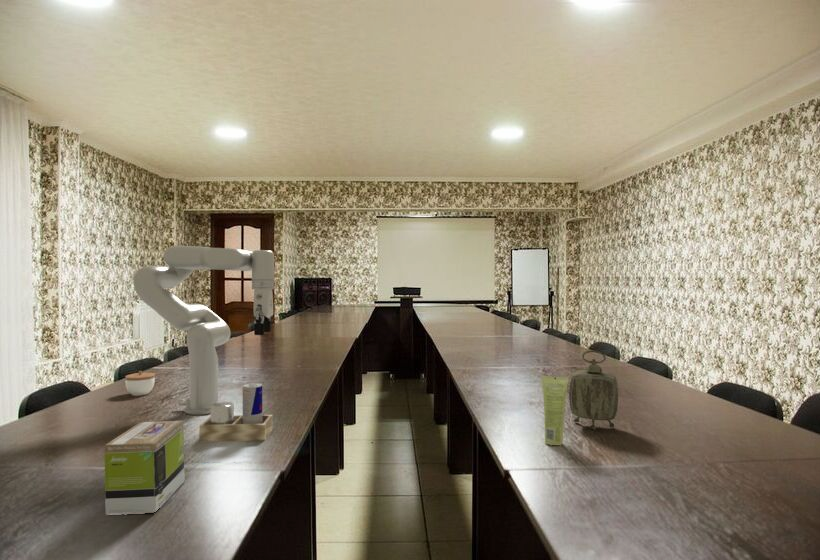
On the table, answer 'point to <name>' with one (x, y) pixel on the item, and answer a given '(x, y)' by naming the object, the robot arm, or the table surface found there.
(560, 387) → the tube
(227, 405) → the grey rounded cylinder
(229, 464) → the table surface
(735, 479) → the table surface
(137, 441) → the tea box
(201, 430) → the caddy
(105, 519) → the table surface
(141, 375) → the lidded jar
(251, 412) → the beverage can
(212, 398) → the robot arm
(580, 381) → the tabletop clock
